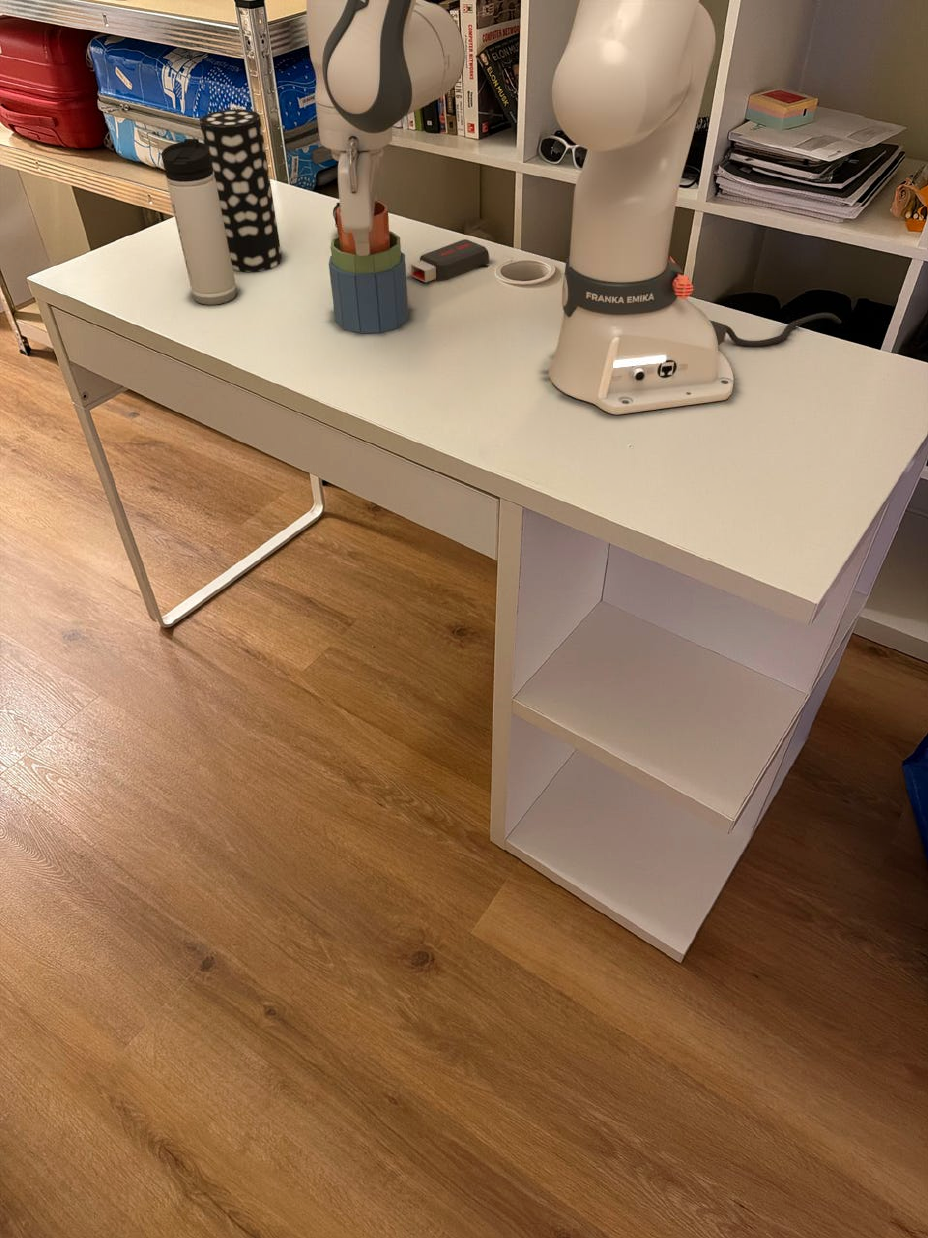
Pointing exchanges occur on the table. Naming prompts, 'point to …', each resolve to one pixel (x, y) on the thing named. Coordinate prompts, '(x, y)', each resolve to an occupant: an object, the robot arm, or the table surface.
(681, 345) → the robot arm
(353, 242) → the terracotta cup
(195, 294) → the travel mug
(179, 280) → the table surface
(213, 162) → the spotted tube
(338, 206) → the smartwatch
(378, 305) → the cup stack
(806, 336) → the table surface
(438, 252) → the usb drive
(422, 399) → the table surface
